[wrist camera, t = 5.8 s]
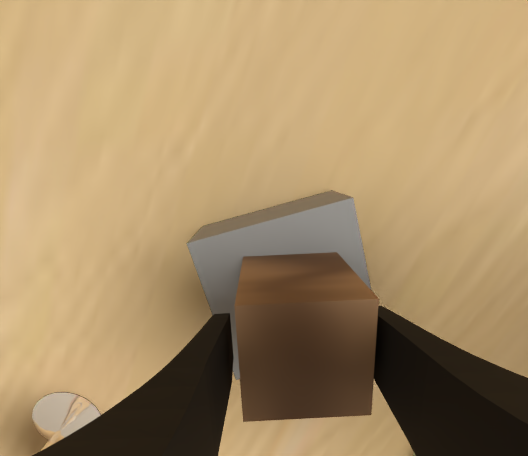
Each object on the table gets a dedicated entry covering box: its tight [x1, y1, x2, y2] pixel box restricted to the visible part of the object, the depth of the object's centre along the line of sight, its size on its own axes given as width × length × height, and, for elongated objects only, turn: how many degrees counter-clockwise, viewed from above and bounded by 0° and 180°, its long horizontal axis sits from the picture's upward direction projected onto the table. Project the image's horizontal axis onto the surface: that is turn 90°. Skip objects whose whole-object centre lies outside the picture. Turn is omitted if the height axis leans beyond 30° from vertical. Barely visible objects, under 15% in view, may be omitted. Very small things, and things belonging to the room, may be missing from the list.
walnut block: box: [234, 252, 379, 422], centre depth 11 cm, size 4×4×4 cm
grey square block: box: [187, 190, 371, 380], centre depth 15 cm, size 8×8×4 cm
